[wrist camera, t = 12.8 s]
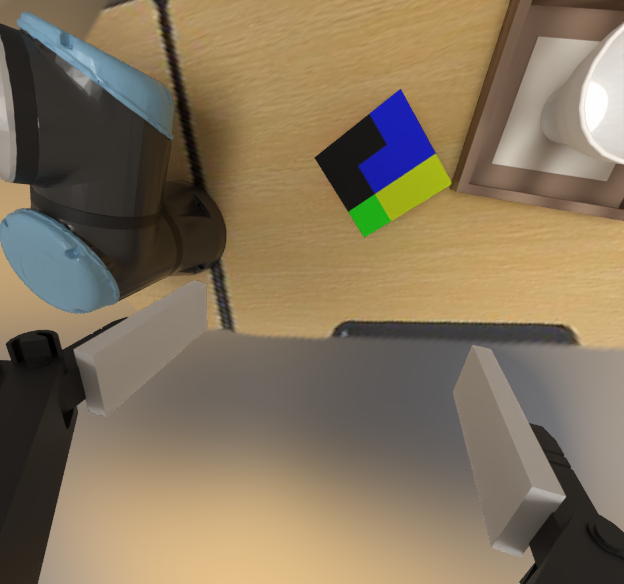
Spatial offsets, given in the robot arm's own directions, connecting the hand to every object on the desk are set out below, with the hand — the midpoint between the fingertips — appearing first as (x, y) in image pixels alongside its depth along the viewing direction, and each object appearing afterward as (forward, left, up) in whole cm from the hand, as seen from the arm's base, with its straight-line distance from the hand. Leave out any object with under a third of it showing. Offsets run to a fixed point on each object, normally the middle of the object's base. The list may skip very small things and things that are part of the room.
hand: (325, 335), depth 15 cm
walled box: (+18, +16, -31) cm, 39 cm away
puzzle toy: (0, +7, -32) cm, 32 cm away
